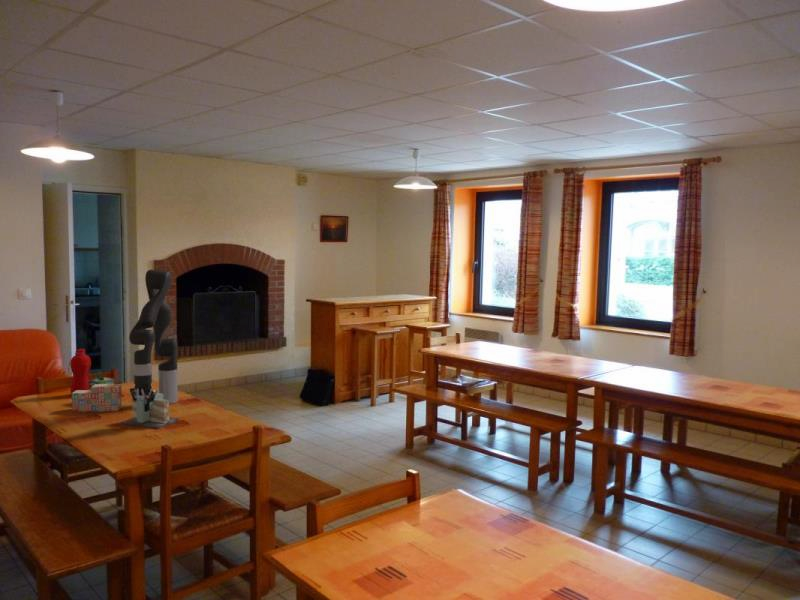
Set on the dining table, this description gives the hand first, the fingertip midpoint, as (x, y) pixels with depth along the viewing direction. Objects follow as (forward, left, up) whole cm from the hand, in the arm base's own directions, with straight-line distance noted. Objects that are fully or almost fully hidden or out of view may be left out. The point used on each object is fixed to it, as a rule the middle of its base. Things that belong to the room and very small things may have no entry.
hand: (143, 410), depth 280 cm
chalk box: (-37, -41, -7) cm, 56 cm away
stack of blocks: (-21, -34, -7) cm, 41 cm away
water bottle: (-47, -59, -7) cm, 76 cm away
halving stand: (-4, +1, -7) cm, 8 cm away
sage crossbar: (-4, +1, -5) cm, 6 cm away
